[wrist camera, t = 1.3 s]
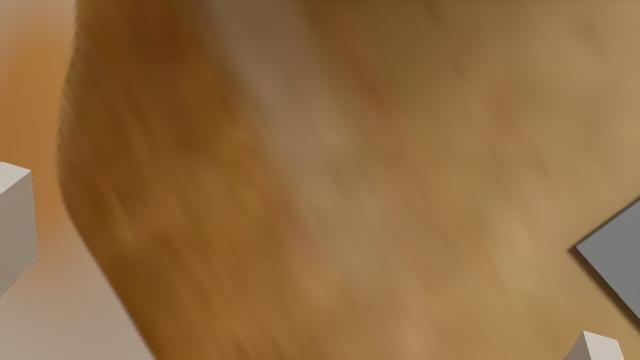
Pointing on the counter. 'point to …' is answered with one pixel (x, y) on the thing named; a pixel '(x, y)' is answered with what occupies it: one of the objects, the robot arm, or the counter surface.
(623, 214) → the pad
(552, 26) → the counter surface
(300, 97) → the counter surface
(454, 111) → the counter surface
